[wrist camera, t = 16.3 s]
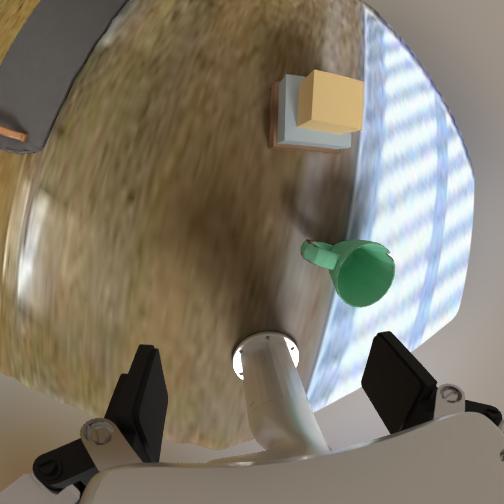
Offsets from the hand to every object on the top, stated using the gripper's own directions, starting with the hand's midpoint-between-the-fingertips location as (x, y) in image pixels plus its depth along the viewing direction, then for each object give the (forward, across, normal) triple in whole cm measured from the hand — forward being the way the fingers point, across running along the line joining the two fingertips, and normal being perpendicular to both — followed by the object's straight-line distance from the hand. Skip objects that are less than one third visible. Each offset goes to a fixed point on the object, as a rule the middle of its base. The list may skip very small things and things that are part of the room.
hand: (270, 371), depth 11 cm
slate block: (+30, -10, -16) cm, 36 cm away
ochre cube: (+26, -10, -16) cm, 32 cm away
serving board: (+35, +35, -33) cm, 59 cm away
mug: (+34, -16, +5) cm, 38 cm away
